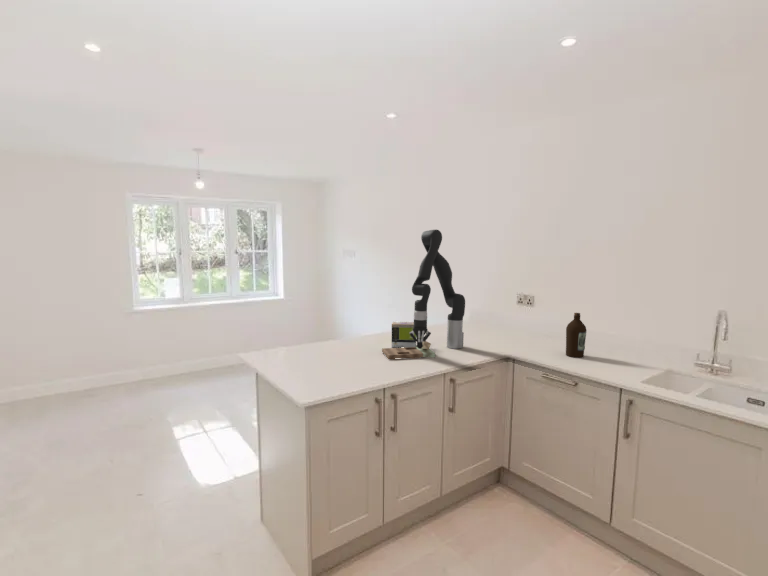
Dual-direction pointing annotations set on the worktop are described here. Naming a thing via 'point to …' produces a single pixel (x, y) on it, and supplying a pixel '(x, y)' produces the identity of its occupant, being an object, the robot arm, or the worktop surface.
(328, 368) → the worktop surface
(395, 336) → the tea box
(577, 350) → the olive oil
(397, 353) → the board
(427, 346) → the block
